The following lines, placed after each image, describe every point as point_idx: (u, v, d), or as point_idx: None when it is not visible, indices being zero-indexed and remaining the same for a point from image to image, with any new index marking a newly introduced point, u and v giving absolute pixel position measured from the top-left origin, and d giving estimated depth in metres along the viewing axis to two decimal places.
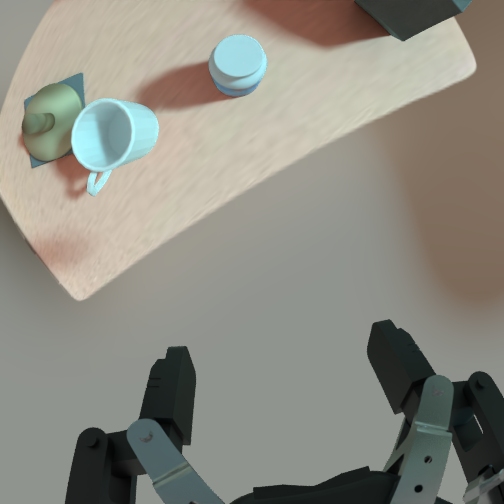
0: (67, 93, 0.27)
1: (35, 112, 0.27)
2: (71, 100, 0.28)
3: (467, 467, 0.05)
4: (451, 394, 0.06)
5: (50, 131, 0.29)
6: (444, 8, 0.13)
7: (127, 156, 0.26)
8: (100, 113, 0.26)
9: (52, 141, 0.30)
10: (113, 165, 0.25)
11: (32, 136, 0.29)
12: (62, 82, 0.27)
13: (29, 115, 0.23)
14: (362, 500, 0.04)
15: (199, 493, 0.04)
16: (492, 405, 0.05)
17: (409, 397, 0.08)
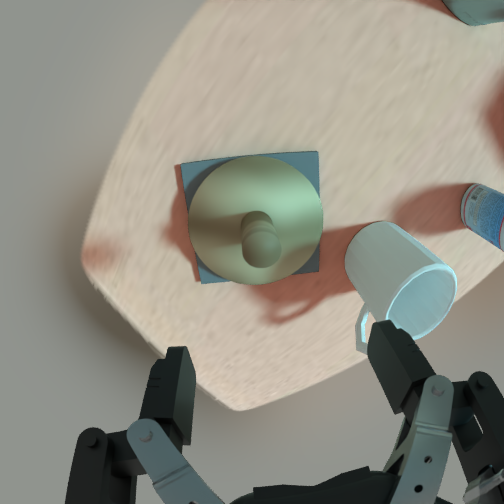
0: (302, 187, 0.23)
1: (224, 201, 0.23)
2: (309, 200, 0.24)
3: (467, 467, 0.05)
4: (451, 394, 0.06)
5: None
6: None
7: None
8: None
9: None
10: (421, 335, 0.21)
11: (214, 242, 0.25)
12: (279, 157, 0.23)
13: (266, 235, 0.19)
14: (362, 500, 0.04)
15: (199, 493, 0.04)
16: (492, 405, 0.05)
17: (409, 397, 0.08)
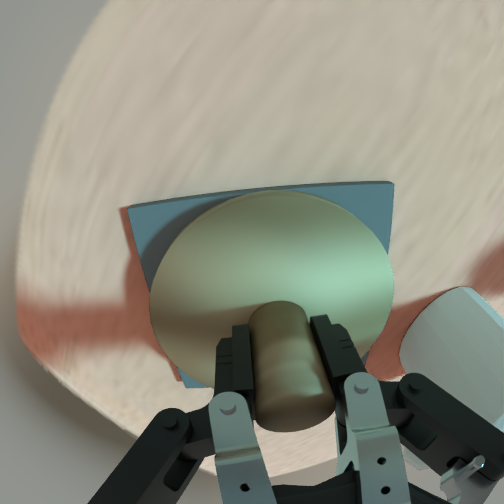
0: (368, 255, 0.11)
1: (215, 286, 0.12)
2: (375, 278, 0.12)
3: (431, 462, 0.06)
4: (375, 394, 0.07)
5: None
6: None
7: None
8: None
9: None
10: None
11: (200, 348, 0.13)
12: (325, 193, 0.11)
13: (309, 395, 0.08)
14: None
15: (256, 478, 0.05)
16: (436, 404, 0.06)
17: (335, 392, 0.09)
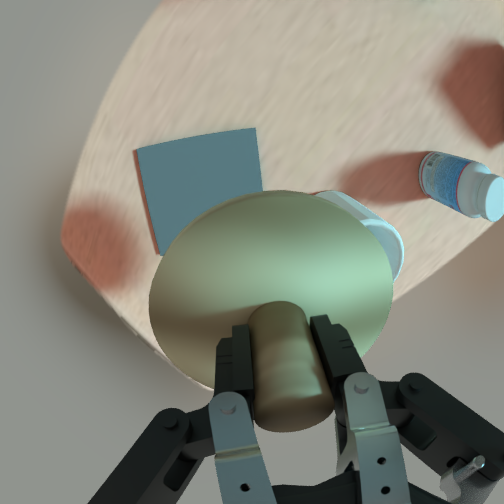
0: (367, 255, 0.11)
1: (214, 286, 0.12)
2: (374, 278, 0.12)
3: (431, 462, 0.06)
4: (375, 393, 0.07)
5: None
6: None
7: None
8: None
9: None
10: None
11: (199, 348, 0.13)
12: (219, 135, 0.25)
13: (308, 395, 0.08)
14: None
15: (256, 478, 0.05)
16: (436, 404, 0.06)
17: (336, 392, 0.09)
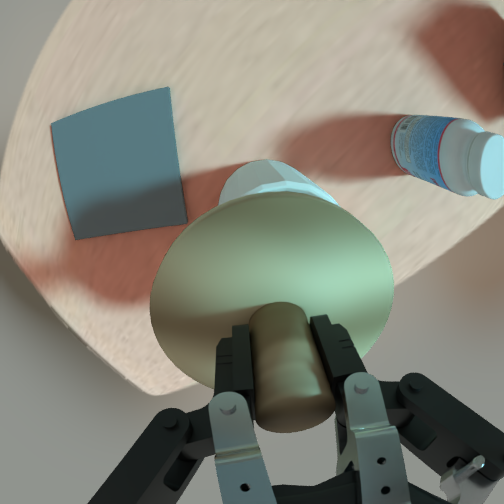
0: (368, 256, 0.11)
1: (215, 287, 0.12)
2: (375, 279, 0.12)
3: (431, 462, 0.06)
4: (375, 394, 0.07)
5: None
6: None
7: None
8: None
9: None
10: None
11: (200, 349, 0.13)
12: (128, 99, 0.19)
13: (309, 396, 0.08)
14: None
15: (256, 478, 0.05)
16: (436, 404, 0.06)
17: (336, 392, 0.09)
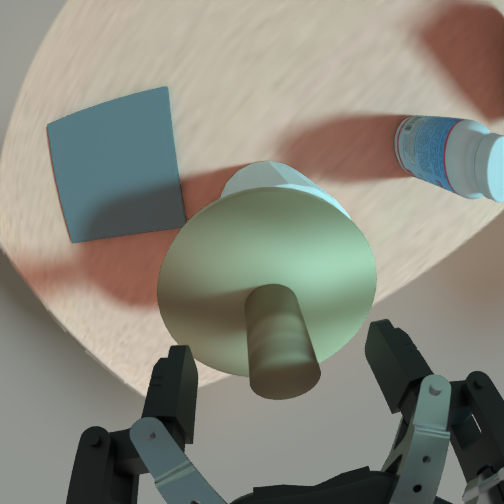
0: (350, 243, 0.13)
1: (215, 270, 0.13)
2: (358, 264, 0.14)
3: (466, 466, 0.05)
4: (448, 393, 0.06)
5: None
6: None
7: None
8: None
9: None
10: None
11: (202, 328, 0.15)
12: (126, 99, 0.18)
13: (295, 360, 0.09)
14: (362, 500, 0.04)
15: (201, 492, 0.05)
16: (490, 404, 0.05)
17: (406, 396, 0.08)
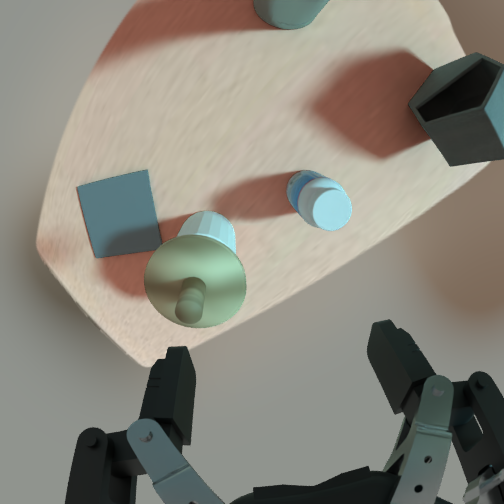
0: (225, 258, 0.30)
1: (167, 270, 0.30)
2: (232, 268, 0.31)
3: (467, 467, 0.05)
4: (451, 394, 0.06)
5: None
6: (494, 153, 0.22)
7: None
8: None
9: (202, 310, 0.33)
10: None
11: (164, 298, 0.32)
12: (124, 177, 0.35)
13: (189, 303, 0.26)
14: (362, 500, 0.04)
15: (199, 493, 0.04)
16: (492, 405, 0.05)
17: (409, 397, 0.08)
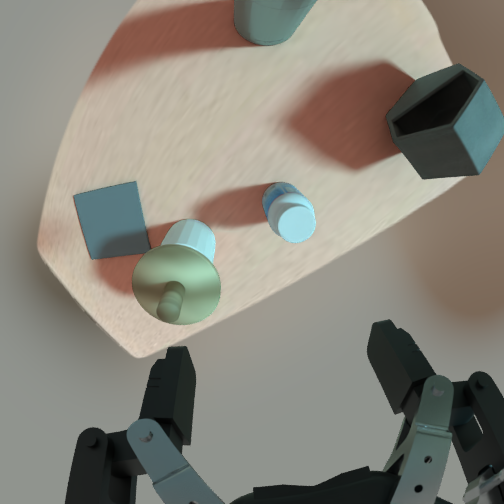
0: (201, 265, 0.34)
1: (152, 275, 0.34)
2: (207, 274, 0.35)
3: (467, 467, 0.05)
4: (451, 394, 0.06)
5: None
6: (465, 169, 0.25)
7: None
8: None
9: (183, 309, 0.37)
10: None
11: (149, 298, 0.36)
12: (115, 187, 0.39)
13: (168, 305, 0.30)
14: (362, 500, 0.04)
15: (199, 493, 0.04)
16: (492, 405, 0.05)
17: (409, 397, 0.08)
